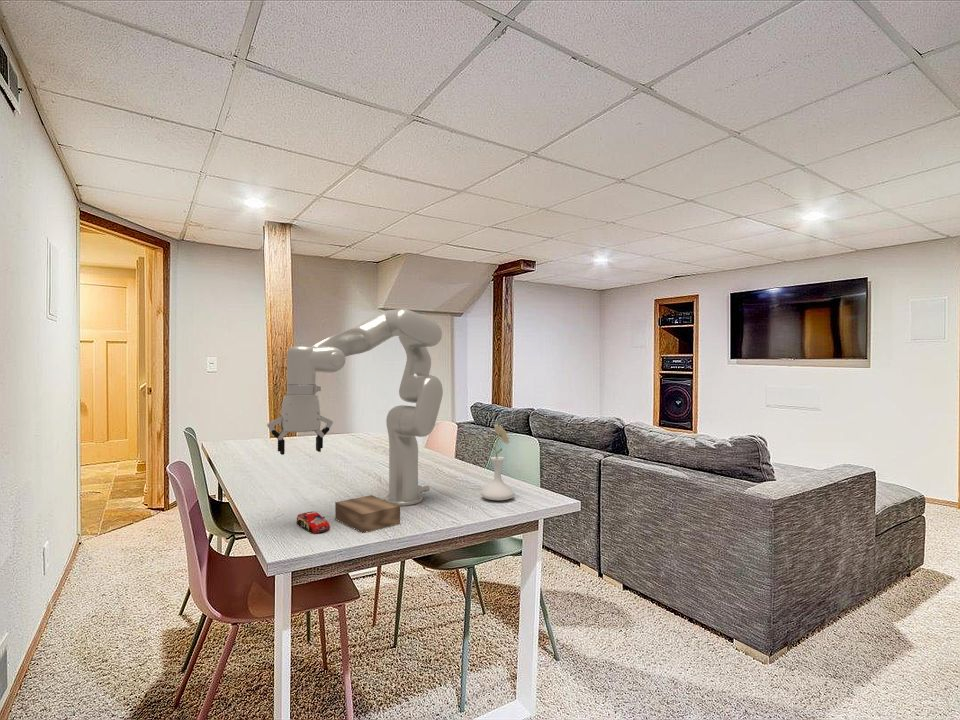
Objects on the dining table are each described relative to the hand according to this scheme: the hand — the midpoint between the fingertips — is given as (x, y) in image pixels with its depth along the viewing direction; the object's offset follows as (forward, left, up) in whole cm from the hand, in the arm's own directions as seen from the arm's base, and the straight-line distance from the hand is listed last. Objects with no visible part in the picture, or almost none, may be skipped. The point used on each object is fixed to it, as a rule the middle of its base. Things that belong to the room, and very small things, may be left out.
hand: (300, 452), depth 141 cm
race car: (-3, +1, -22) cm, 22 cm away
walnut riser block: (-17, +7, -21) cm, 28 cm away
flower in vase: (-63, +13, -21) cm, 68 cm away
